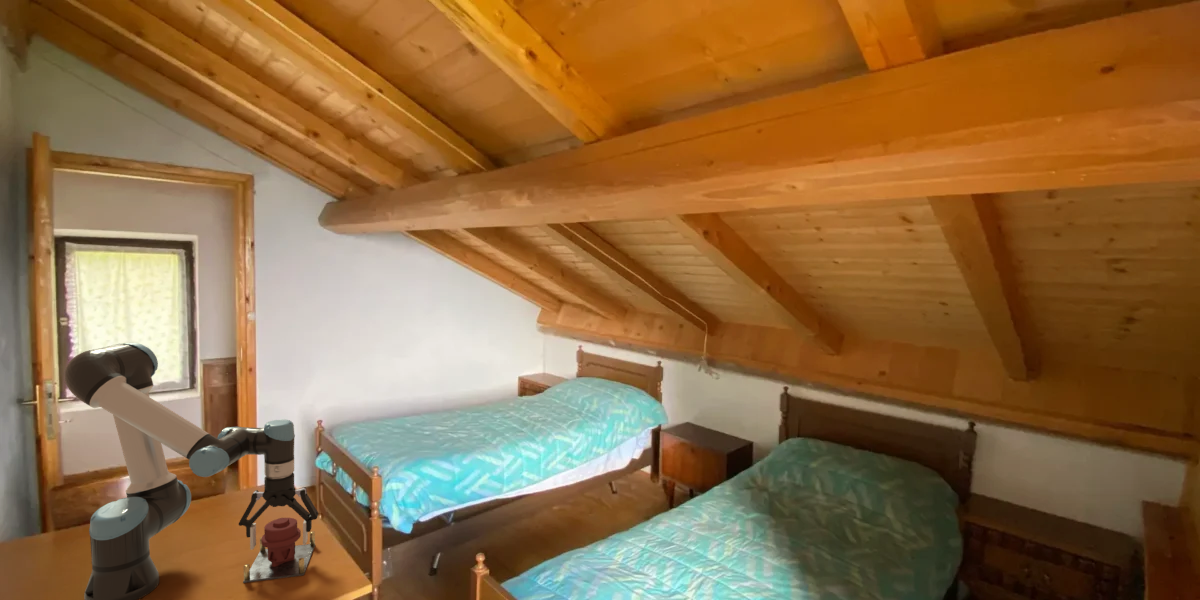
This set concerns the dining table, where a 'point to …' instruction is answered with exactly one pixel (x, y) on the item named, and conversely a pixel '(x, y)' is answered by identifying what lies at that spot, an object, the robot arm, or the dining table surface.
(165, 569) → the dining table surface
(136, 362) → the robot arm
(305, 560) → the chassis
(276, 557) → the mechanical component
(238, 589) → the dining table surface
